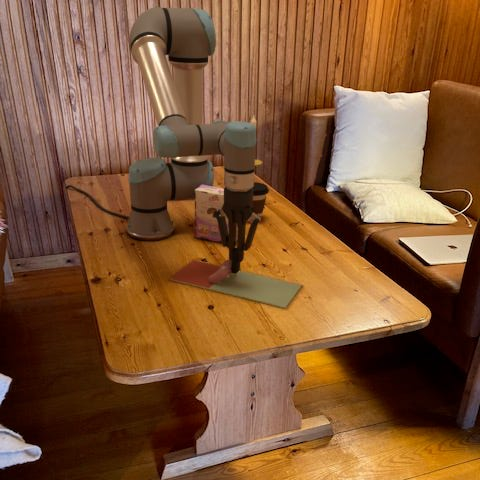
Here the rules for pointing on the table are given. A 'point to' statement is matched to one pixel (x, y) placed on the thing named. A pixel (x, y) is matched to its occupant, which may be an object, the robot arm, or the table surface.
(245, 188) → the robot arm
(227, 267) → the video game controller
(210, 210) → the candy box
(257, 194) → the coffee cup
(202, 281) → the placemat
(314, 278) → the table surface
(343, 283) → the table surface
